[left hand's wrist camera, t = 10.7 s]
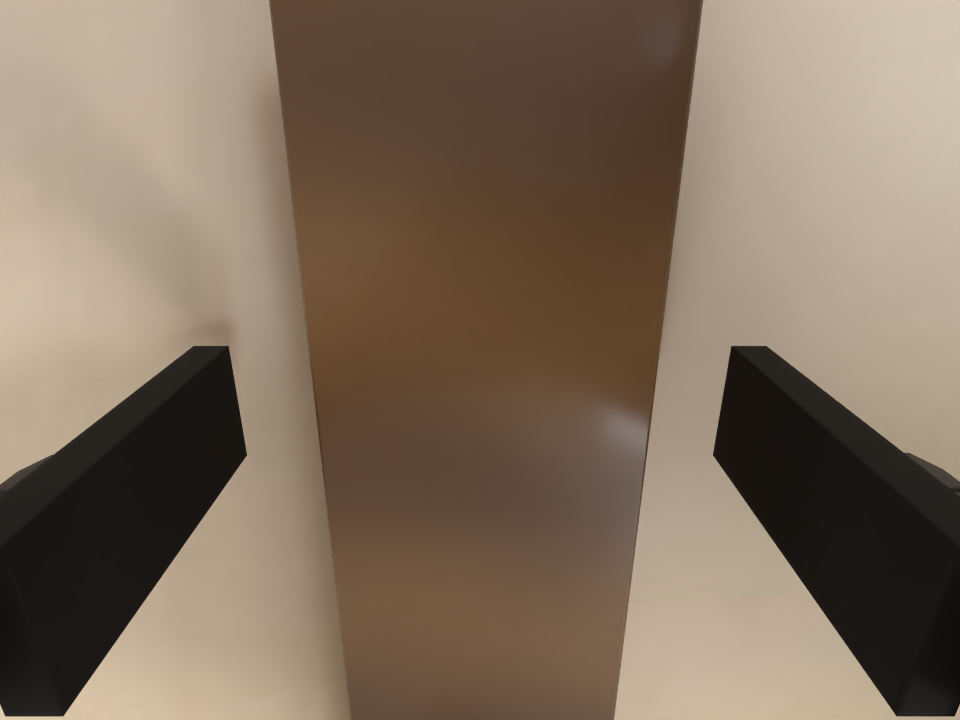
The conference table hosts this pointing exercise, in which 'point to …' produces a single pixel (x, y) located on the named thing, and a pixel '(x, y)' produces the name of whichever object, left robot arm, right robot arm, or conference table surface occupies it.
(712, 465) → the conference table surface
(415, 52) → the post
